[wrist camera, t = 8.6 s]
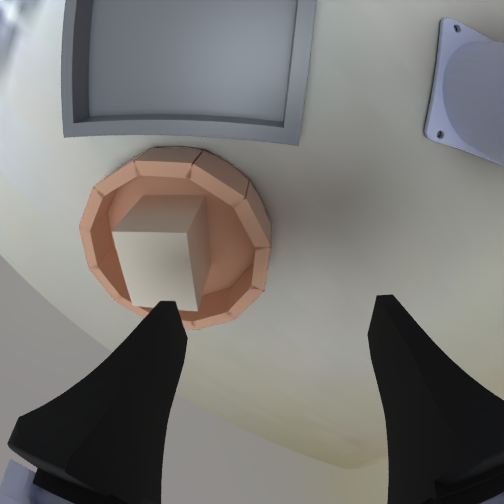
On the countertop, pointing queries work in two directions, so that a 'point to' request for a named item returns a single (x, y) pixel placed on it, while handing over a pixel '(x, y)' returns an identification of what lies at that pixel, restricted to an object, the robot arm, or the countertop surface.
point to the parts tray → (186, 68)
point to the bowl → (219, 228)
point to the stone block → (165, 250)
